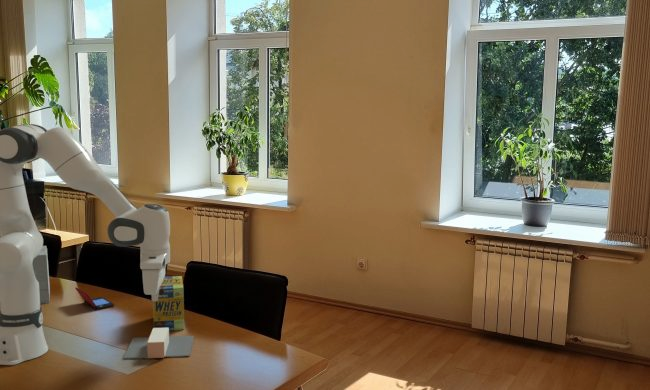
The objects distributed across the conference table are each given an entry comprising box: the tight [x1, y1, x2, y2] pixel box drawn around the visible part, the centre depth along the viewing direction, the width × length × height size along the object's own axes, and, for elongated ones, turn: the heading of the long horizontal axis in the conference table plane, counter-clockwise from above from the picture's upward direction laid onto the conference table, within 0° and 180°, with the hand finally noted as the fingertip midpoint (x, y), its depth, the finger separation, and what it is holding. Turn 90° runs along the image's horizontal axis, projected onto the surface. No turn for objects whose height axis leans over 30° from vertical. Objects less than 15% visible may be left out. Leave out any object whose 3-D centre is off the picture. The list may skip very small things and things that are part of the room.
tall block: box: [147, 327, 170, 359], centre depth 190 cm, size 5×5×12 cm
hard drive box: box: [32, 245, 51, 305], centre depth 238 cm, size 16×8×20 cm, turn 25°
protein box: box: [152, 275, 185, 332], centre depth 213 cm, size 10×15×16 cm
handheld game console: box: [75, 287, 115, 311], centre depth 232 cm, size 12×11×7 cm
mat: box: [123, 335, 195, 360], centre depth 193 cm, size 20×16×1 cm
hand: (155, 299), depth 185 cm, fingers closed
